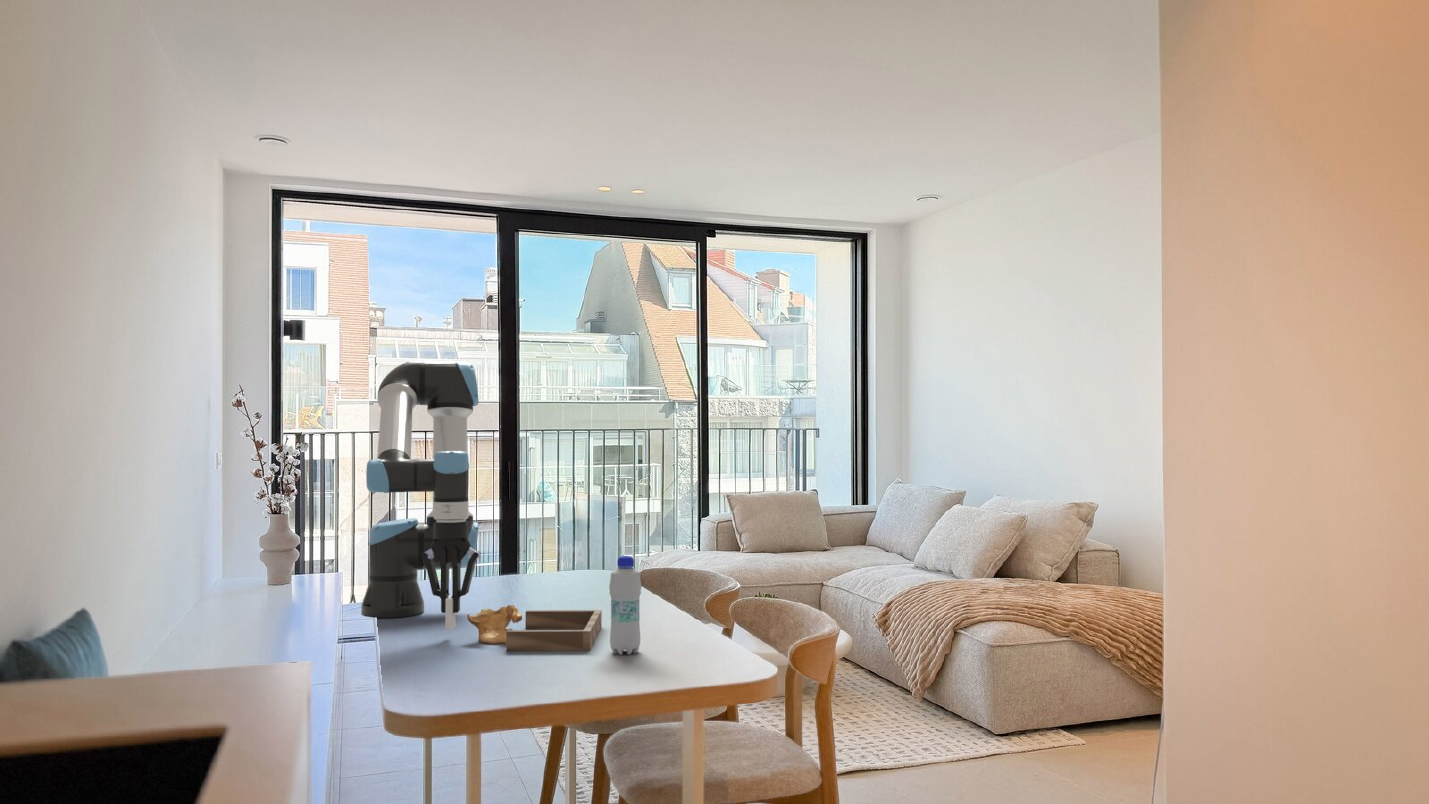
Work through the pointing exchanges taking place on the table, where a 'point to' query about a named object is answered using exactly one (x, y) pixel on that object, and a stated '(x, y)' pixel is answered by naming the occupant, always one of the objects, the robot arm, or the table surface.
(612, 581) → the bottle
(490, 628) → the golden dog figurine
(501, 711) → the table surface
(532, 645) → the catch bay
